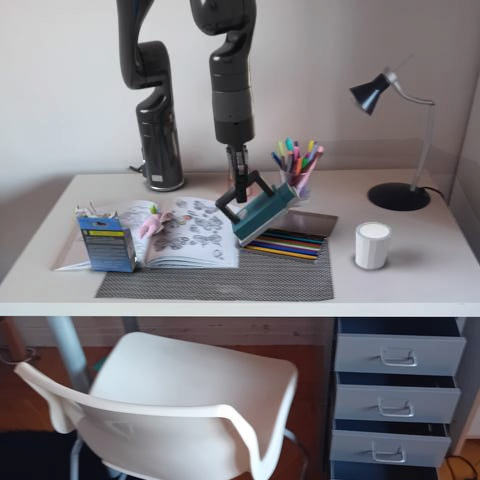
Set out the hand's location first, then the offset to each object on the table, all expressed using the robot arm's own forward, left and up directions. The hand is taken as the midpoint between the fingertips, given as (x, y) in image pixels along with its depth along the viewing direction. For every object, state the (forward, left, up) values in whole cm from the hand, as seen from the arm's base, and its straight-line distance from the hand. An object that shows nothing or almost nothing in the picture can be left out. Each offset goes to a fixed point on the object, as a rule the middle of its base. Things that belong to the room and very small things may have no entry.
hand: (241, 199), depth 103 cm
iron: (+3, +5, -5) cm, 8 cm away
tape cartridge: (-11, -25, -10) cm, 29 cm away
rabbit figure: (-17, -12, -10) cm, 23 cm away
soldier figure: (-31, -18, -10) cm, 37 cm away
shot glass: (+25, +12, -10) cm, 29 cm away
